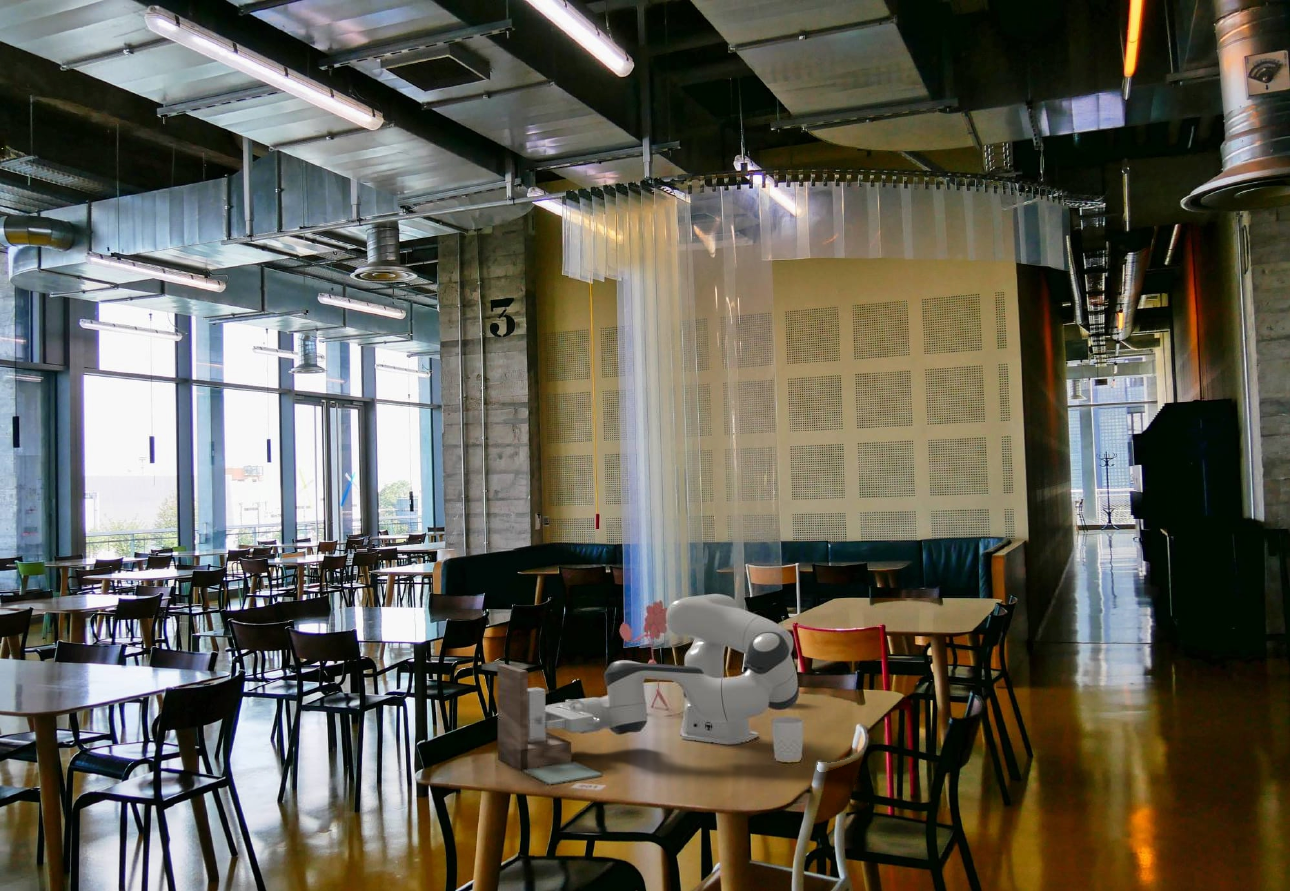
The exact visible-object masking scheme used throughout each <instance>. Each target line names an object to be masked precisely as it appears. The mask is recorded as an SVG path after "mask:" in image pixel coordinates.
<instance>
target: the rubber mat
mask: <svg viewBox="0 0 1290 891" xmlns="http://www.w3.org/2000/svg"><path fill="white" fill-rule="evenodd" d="M524 772H525V773H524ZM523 773H524V774H526V773H527V775H528V774H530V775H531V776H530V775H529V776H530V777H532V776H534V777H536V778H538V779H539V780H538V779H537V780H538V781H540V780H542V781H543V782H542V781H541V782H542V783H544V782H545V783H544V784H546V785H548V784H549V785H548V786H552V785H551V784H554V785H559V784H564V783H563V782H565V783H569V781H571V782H574V781H573V780H577V781H581V780H588V779H593V778H599V777H602V776H603V774H602V773H601V772H598V771H596V770H594V769H592V768H590V767H587V766H586V765H583V764H580V763H578V762H577V761H573V762H572V761H571V762H570V763H564V764H558V765H551V766H545V767H539V768H533V769H527V770H523ZM534 777H533V778H534ZM536 778H535V779H536ZM558 783H559V784H558Z"/></svg>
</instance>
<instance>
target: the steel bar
mask: <svg viewBox="0 0 1290 891" xmlns="http://www.w3.org/2000/svg"><path fill="white" fill-rule="evenodd" d="M527 695H528V745H529V744H535V743H542V742H546V732H547V730H546V729H547V728H545V706H546V689H544V688H541V687H538V686H536V687H527Z"/></svg>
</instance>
